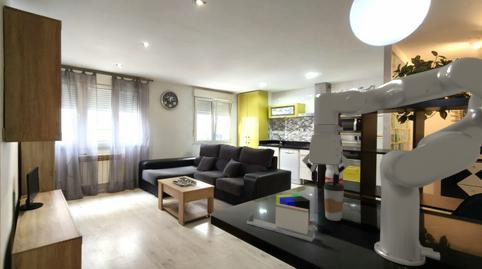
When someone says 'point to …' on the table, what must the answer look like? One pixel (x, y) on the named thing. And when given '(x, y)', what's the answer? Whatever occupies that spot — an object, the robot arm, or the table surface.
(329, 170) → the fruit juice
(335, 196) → the coffee cup
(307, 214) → the screen
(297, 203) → the puzzle toy
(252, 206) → the table surface
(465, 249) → the table surface
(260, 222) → the rail
